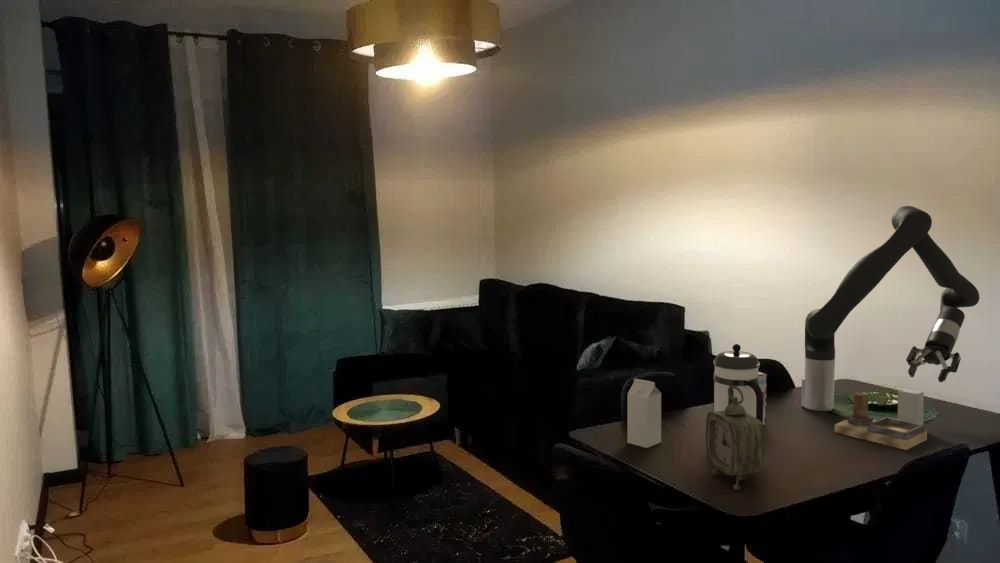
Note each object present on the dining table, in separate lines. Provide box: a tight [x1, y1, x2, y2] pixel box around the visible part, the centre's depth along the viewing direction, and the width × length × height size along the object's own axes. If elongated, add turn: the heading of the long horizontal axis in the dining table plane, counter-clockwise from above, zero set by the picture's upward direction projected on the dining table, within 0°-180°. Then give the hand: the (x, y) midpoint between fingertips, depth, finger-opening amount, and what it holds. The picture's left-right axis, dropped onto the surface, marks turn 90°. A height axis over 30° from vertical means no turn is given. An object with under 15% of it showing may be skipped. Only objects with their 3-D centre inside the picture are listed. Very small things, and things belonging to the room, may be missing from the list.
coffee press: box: [712, 343, 763, 423], centre depth 217 cm, size 17×16×30 cm
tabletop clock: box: [705, 386, 767, 491], centre depth 192 cm, size 14×9×25 cm, turn 13°
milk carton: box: [626, 378, 662, 449], centre depth 223 cm, size 7×7×19 cm
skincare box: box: [897, 387, 925, 425], centre depth 229 cm, size 6×4×12 cm
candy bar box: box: [758, 370, 768, 426], centre depth 241 cm, size 11×5×16 cm, turn 16°
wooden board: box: [834, 392, 928, 451], centre depth 224 cm, size 21×13×12 cm, turn 38°
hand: (925, 378), depth 234 cm, fingers open, 8 cm apart
